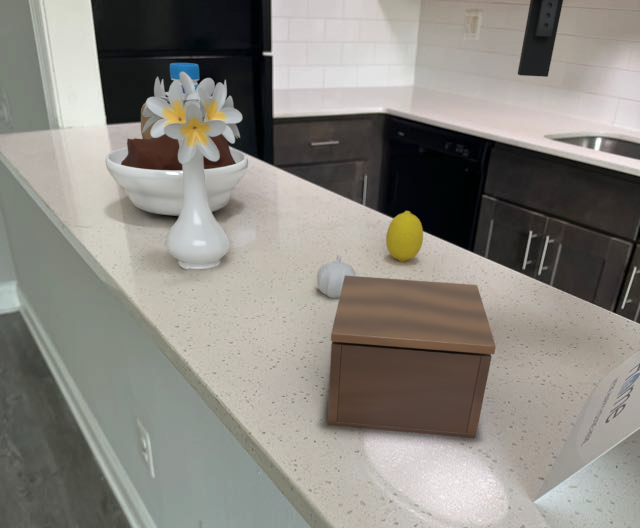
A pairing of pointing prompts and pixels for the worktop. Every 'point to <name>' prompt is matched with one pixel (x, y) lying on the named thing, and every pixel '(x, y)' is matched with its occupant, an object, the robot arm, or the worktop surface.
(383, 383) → the bread box
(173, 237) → the flower vase
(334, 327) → the lid
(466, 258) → the worktop surface
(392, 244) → the lemon
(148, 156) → the white bowl
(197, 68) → the beverage bottle
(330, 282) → the garlic
